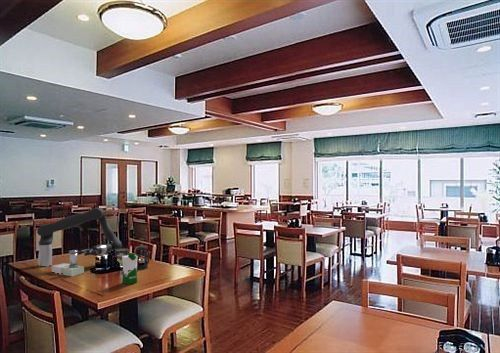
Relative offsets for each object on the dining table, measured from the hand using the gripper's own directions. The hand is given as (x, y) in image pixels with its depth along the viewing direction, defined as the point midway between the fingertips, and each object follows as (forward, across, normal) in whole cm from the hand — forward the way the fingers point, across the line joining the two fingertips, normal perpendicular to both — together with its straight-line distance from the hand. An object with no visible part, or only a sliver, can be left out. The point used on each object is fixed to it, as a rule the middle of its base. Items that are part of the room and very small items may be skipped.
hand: (81, 253), depth 267 cm
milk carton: (+3, +54, +14) cm, 56 cm away
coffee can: (-24, +17, +14) cm, 32 cm away
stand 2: (+6, 0, +14) cm, 15 cm away
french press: (-30, +33, +14) cm, 46 cm away
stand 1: (+6, -13, +14) cm, 20 cm away
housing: (+6, 0, +9) cm, 11 cm away
